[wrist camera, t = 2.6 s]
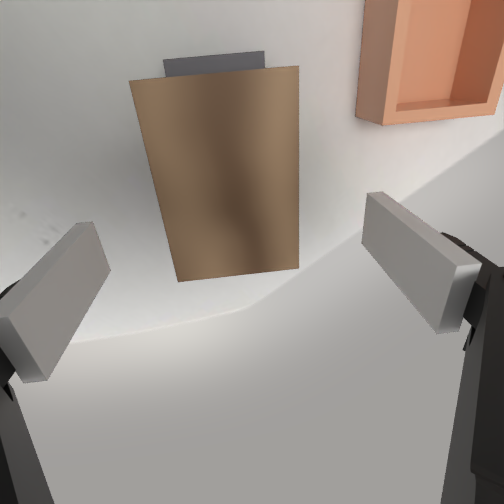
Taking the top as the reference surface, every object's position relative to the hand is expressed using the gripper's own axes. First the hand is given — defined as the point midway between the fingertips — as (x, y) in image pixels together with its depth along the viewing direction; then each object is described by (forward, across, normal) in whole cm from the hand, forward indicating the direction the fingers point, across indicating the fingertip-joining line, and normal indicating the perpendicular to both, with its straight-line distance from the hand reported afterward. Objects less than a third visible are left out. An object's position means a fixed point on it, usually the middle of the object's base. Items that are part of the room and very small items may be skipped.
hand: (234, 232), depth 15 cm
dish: (+13, +15, +8) cm, 22 cm away
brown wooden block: (+10, 0, 0) cm, 10 cm away
